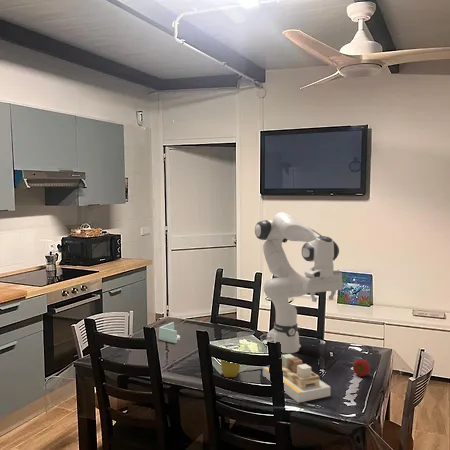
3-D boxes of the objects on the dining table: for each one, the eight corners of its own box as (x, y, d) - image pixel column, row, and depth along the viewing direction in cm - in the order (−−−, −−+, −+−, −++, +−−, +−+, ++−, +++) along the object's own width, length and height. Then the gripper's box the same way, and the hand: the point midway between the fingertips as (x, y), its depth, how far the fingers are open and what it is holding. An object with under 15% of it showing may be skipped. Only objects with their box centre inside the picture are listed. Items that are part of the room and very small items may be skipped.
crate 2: (296, 375, 213) (297, 365, 212) (305, 373, 214) (305, 363, 214) (302, 379, 209) (302, 369, 208) (311, 377, 210) (311, 367, 210)
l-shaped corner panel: (175, 344, 271) (175, 331, 270) (159, 340, 277) (159, 327, 276) (189, 338, 281) (189, 325, 280) (172, 334, 287) (172, 322, 286)
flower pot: (219, 371, 232) (219, 353, 231) (238, 371, 233) (238, 353, 232) (220, 379, 224) (221, 360, 223) (240, 379, 224) (240, 359, 223)
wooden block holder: (272, 368, 227) (272, 351, 226) (289, 365, 231) (289, 349, 230) (301, 388, 205) (301, 370, 205) (319, 385, 209) (319, 367, 208)
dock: (262, 375, 229) (262, 366, 228) (292, 370, 235) (292, 361, 235) (297, 402, 201) (298, 392, 201) (330, 395, 208) (330, 386, 208)
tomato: (363, 354, 233) (358, 356, 226) (375, 367, 229) (371, 369, 223) (351, 365, 235) (346, 368, 228) (363, 378, 232) (359, 381, 225)
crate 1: (281, 364, 224) (281, 355, 224) (289, 363, 226) (289, 353, 226) (286, 367, 220) (286, 358, 220) (294, 366, 222) (294, 357, 222)
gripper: (337, 268, 237) (336, 297, 238) (301, 271, 228) (300, 301, 230) (346, 271, 231) (345, 300, 233) (309, 274, 223) (308, 304, 224)
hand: (322, 300), depth 231 cm, fingers open, 8 cm apart
